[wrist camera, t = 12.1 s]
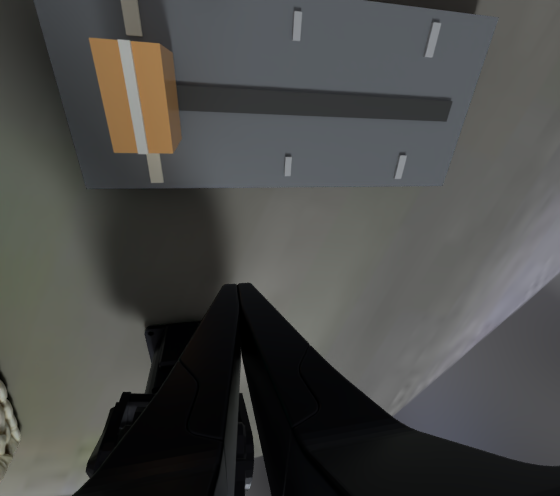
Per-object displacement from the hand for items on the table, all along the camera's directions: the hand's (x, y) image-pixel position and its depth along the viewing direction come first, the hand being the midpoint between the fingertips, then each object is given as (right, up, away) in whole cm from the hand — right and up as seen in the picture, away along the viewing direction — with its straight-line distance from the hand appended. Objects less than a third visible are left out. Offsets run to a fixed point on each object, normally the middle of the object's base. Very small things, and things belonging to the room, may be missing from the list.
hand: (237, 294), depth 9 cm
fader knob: (-5, +9, +6) cm, 12 cm away
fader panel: (+2, +11, +9) cm, 14 cm away
